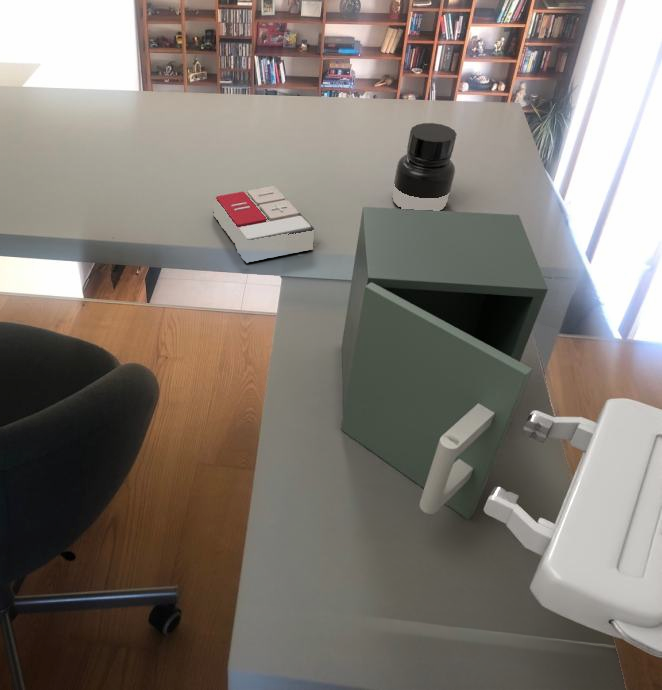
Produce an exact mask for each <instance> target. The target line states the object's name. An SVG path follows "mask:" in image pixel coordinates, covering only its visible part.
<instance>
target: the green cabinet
mask: <svg viewBox="0 0 662 690" xmlns="http://www.w3.org/2000/svg"><path fill="white" fill-rule="evenodd" d="M355 249H356V250H355V257H354V262H353V269H352V275H351V281H350V288H349V289H350V290H349V295H348V302H347V309H346V315H345V322H344V328H343V334H342V340H341V383H342V384H341V387H342V388H341V389H342V391H341V392H342V414H343V413H344V407H345V401H346V396H347V390H348V384H349V378H350V372H351V366H352V360H353V354H354V349H355V343H356V337H357V331H358V325H359V319H360V313H361V307H362V302H363V296H364V290H365V286H366V285H368V284H369V283H371V282H372V283H374V284H376V285H378V286H380V287H381V288H383V289H385V290H387V291H389V292H391V293H393V294H394V295H396V296H398V297H400V298H402V299H404V300H406V301H407V302H409V303H411V304H413V305H415V306H417V307H419V308H420V309H422V310H424V311H426V312H428V313H430V314H432V315H433V316H435V317H437V318H439V319H441V320H443V321H445V322H446V323H448V324H450V325H452V326H454V327H456V328H458V329H459V330H461V331H463V332H465V333H467V334H469V335H471V336H472V337H474V338H476V339H478V340H480V341H482V342H484V343H485V344H487V345H489V346H491V347H493V348H495V349H497V350H498V351H500V352H502V353H504V354H506V355H508V356H510V357H511V358H513V359H515V360H517V361H519V362H521V360H522V358H523V356H524V355H523V354H524V352H525V350H526V347H527V344H528V342H529V339H530V336H531V334H532V333H533V332H532V331H533V329H534V326H535V324H536V321H537V319H538V316H539V314H540V311H541V309H542V306H543V303H544V301H545V298H546V296H547V294H548V291H549V288H548V286H547V283H546V281H545V278H544V276H543V273H542V271H541V268H540V266H539V264H538V260H537V257H536V254H535V253H534V249H533V248H532V245H531V241H530V240H529V237H528V235H527V232H526V229H525V228H524V225H523V221H522V219H521V217H520V215H519V214H507V213H487V212H472V211H471V212H469V211H467V212H466V211H452V210H451V211H449V210H442V211H433V210H414V209H400V208H393V207H373V206H362V210H361V217H360V224H359V230H358V237H357V243H356V248H355Z"/></svg>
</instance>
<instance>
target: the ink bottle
mask: <svg viewBox="0 0 662 690" xmlns="http://www.w3.org/2000/svg"><path fill="white" fill-rule="evenodd" d="M409 132H410V133H409V137H408V142H407V143H408V144H407V149H406V154H404V155H403V156H401V157H400V159H399V160H398V162H397V165H396V170H395V176H394V181H393V185H394V184H395V187H396V188H397V189H398V190H399V191H401V192H402V193H404V194H407V195H409V196H414V197H419V198H439V197H442V196H445V195H447V194H448V193H449V192H450V193H451V189H452V185H453V182H454V177H455V174H456V173H455V172H456V167H455V164H454V162H453V161H452V159H451V158H452V155H453V151H454V149H455V143H456V138H457V132H456V130H455V129H453V128H451V127H450V126H448V125H445V124H442V123H435V122H423V123H419V124H418V123H417V124H416V125H414V126H412V127H411V129H410V131H409Z"/></svg>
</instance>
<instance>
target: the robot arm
mask: <svg viewBox="0 0 662 690" xmlns="http://www.w3.org/2000/svg"><path fill="white" fill-rule="evenodd" d="M522 433H523V435H524V436H525V437H527V438H533V439H534V441H537V442H540V443H542V444H544V443H545V442H546V439H547V438H548V439H556V440H565V441H570V442H569V446H571V447H573V448H575V449H577V450H580V451H582V454H581V456H580V460H579V462H578V465H577V467H576V470H575V473H574V475H573V477H572V480H571V482H570V485H569V487H568V490H567V492H566V495H565V497H564V500H563V502H562V504H561V507H560V510H559V512H558V514H557V518H556V520H555V522H552V521H550V520H547V519H545V518H543V517H539V518H538V520H537V521H536V520H535V519H534V518H533V517H532V516H530V514H529V513H527V512H526V511H525V510H524V509H523V508H522V507H521V506H520V505H519V504H518V503H517V501H518V499H519V497H520V495H518V494H516V493H514V492H512V491H506V490H505V488H503V487H501V486H493V488H492V490H491V492H490V494H489V495H488V498H487V500H486V502H485V504H484V507H483V512H484V514H486V515H487V516H489V517H491V518H493V519H495V520H497V521H499V522H501V523H504V524H505V526H506V527H507V528H508V529H509V531H510V532H511V533H512V534H513V535H514V536H515V538H516V539H518V541H519V542H520V543H521V545H522V546H523V547H524V548H525V549H527V550H529V551H531V552H533V553H535V554H537V555H539V556H541V557H540V560H539V563H538V565H537V568H536V570H535V573H534V575H533V578H532V581H531V583H530V585H529V590H530V592H531V594H532V595H533V596H534V598H535V599H536V600H537V602H538V603H539V604H540V605H541V607H543V608H545V609H547V610H548V611H551V612H553V613H554V614H557V615H559V616H561V617H563V618H566V619H568V620H570V621H572V622H575V623H578V625H579V624H580V625H582V626H584V627H587V628H590V629H592V630H595V631H597V632H600V633H603V634H606V635H609V636H611V637H614V638H617V639H621V640H623V641H625V642H627V643H628V644H630V645H632V646H633V647H636V648H637V649H640V650H641V651H643V652H645V653H648V654H649V655H652V656H654V657H657V658H662V409H661V408H658V407H656V406H653V405H649V404H647V403H645V402H641V401H638V400H634V399H631V398H627V397H625V398H623V397H621V398H620V397H618V398H609V399H607V400H606V401H605V402H604V404H603V406H602V408H601V410H600V412H599V414H598V416H597V418H596V419H595V421H593V420H590V419H588V418H585V417H583V416H555V417H554V416H552V415H550V414H548V413H544V412H542V411H540V410H538V409H537V410H536V409H535V410H531V412H530V414H529V415H528V417H527V419H526V421H525V424H524V426H523V429H522Z"/></svg>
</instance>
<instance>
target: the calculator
mask: <svg viewBox="0 0 662 690" xmlns="http://www.w3.org/2000/svg"><path fill="white" fill-rule="evenodd" d="M245 193H248V195H249V196H250V197H251V199H252V200H253V201H254V202H255V203H256V204H257V206H259V205H260V210H261V211H262V212H263V213H264V214H265V215H266V217H267V219H268V220H270V221H269V222H266V220H267V219H266V217H265V216H264V215H263V214H262V213H261V211H260V210H259V209H258V208H257V207H256V205H255V204H254V203H253V202H252V201H251V200H250V198H249V197H248V196H247V195H246V194H245ZM215 198H216V199H217V201H218V202H219V203H220V204H221V206H222V207H223V208H224V209H225V211H226V212H227V214H228V215H229V217H230V218H231V219H232V221H233V222H234V223H235V224H236V226H237V227H240V228H239V230H240V232H241V233H242V234H243V235H244V237H245V238H246V239H247V240H254V239H259V238H264V237H271V236H276V235H281V234H287V233H289V234H294V233H295V234H296V233H301V232H306V231H312V230H314V229H315V227H313V225H312V224H311V223H310V222H309V221H308V220H307V219H306V218H305V217H304V216H303V215H302V213H300V212H299V211H298V209H297V208H296V207H295V206H294V205H293V204H292V203H291V202H290V201H289V200H288V199H287V200H285V198H286V197H285V196H284V195H283V194H282V192H281V191H279V189H278V188H277V187H276V185H275V186H274V185H271V186H270V185H269V186H265V187H259V188H254V189H249V190H247V191H246V192H245V191H239V192H233V193H227V194H221V195H218V196H216V197H215ZM258 223H259V224H258ZM247 225H249V226H247ZM241 226H244V227H241ZM289 234H288V235H289Z"/></svg>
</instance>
